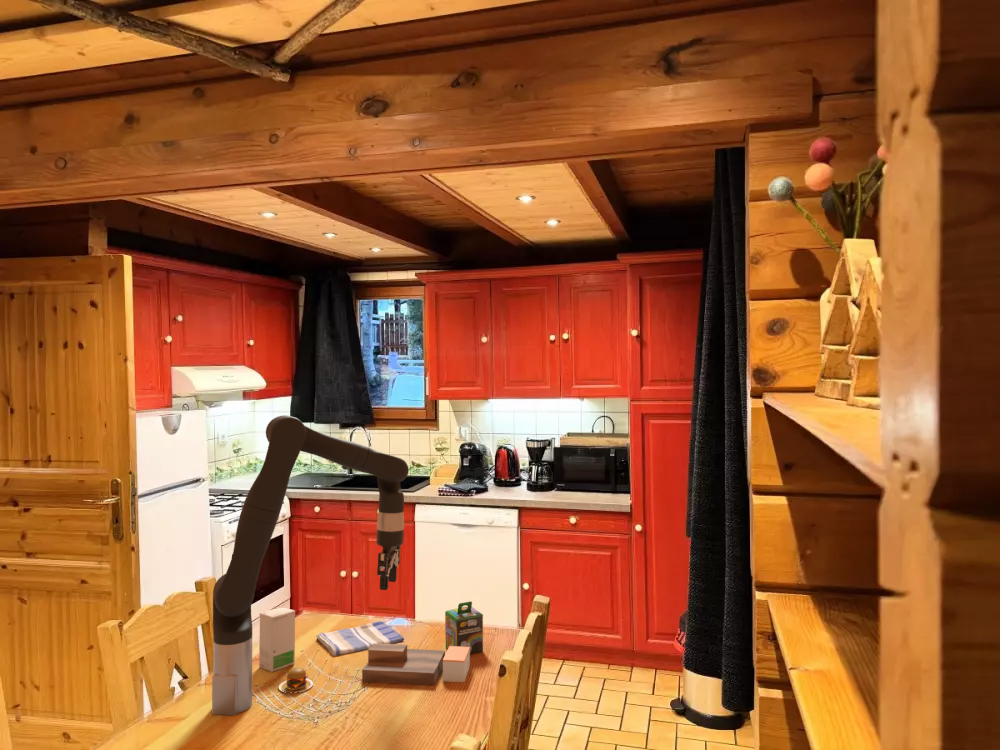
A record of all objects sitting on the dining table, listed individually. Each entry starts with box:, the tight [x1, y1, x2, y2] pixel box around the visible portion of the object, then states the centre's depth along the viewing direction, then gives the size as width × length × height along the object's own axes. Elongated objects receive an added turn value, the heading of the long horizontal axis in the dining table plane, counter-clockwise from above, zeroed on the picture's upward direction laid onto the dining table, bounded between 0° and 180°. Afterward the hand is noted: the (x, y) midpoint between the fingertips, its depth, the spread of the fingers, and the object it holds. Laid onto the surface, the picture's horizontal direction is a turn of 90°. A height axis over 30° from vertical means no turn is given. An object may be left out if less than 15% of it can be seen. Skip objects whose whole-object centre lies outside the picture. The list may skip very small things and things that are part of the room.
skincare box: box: [258, 607, 296, 673], centre depth 201 cm, size 8×7×16 cm
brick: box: [442, 646, 471, 683], centre depth 195 cm, size 10×6×6 cm, turn 174°
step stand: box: [361, 643, 446, 686], centre depth 197 cm, size 16×20×7 cm
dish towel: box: [315, 620, 405, 657], centre depth 221 cm, size 17×24×3 cm
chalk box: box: [444, 601, 484, 655], centre depth 214 cm, size 9×9×15 cm
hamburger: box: [278, 667, 314, 694], centre depth 187 cm, size 12×12×6 cm
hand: (388, 585), depth 195 cm, fingers open, 8 cm apart
